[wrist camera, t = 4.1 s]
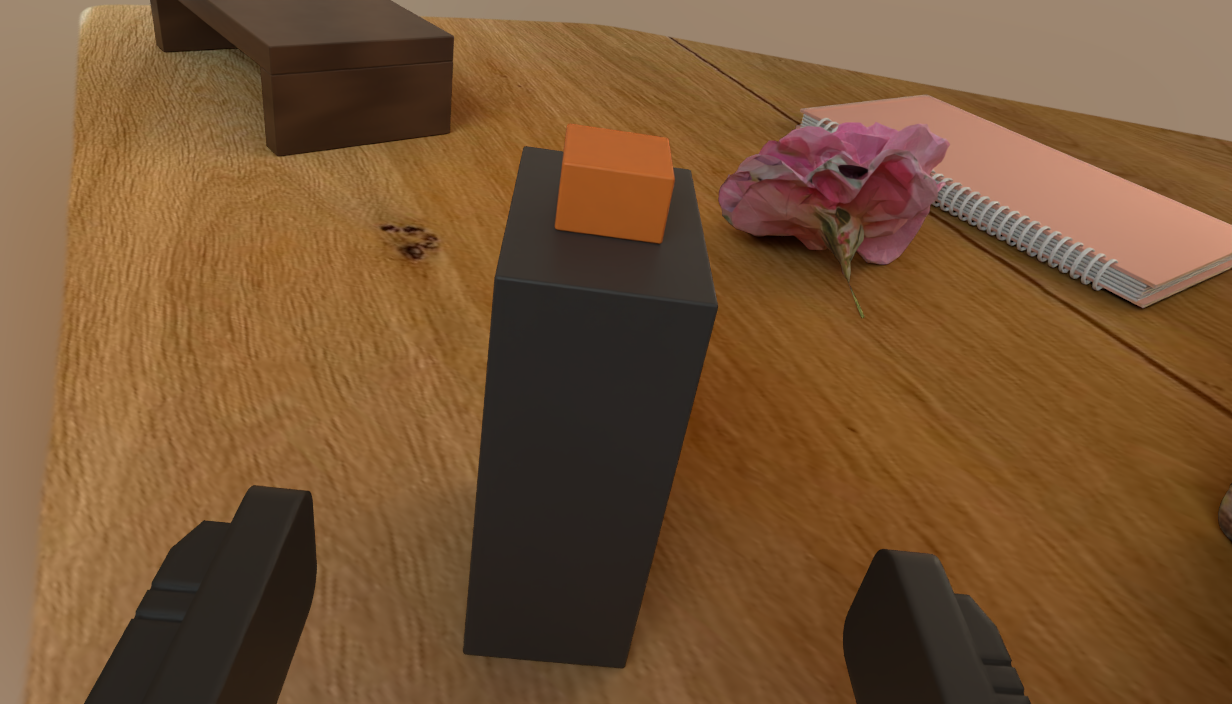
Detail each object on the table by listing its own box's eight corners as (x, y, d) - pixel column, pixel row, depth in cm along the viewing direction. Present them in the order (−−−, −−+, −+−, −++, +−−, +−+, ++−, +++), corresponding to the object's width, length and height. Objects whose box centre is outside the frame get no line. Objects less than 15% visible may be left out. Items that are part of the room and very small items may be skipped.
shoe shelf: (277, 156, 47) (269, 46, 44) (156, 45, 59) (142, -49, 55) (450, 133, 54) (454, 36, 51) (311, 37, 65) (307, -48, 62)
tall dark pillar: (462, 655, 23) (500, 201, 16) (491, 479, 29) (529, 84, 22) (624, 669, 24) (737, 234, 16) (621, 493, 30) (703, 110, 22)
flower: (714, 266, 52) (789, 116, 51) (868, 338, 49) (949, 181, 49) (681, 222, 41) (777, 30, 40) (878, 312, 38) (982, 108, 38)
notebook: (784, 132, 64) (791, 106, 63) (919, 114, 73) (927, 91, 72) (1131, 315, 47) (1149, 284, 46) (1249, 262, 57) (1266, 235, 56)
